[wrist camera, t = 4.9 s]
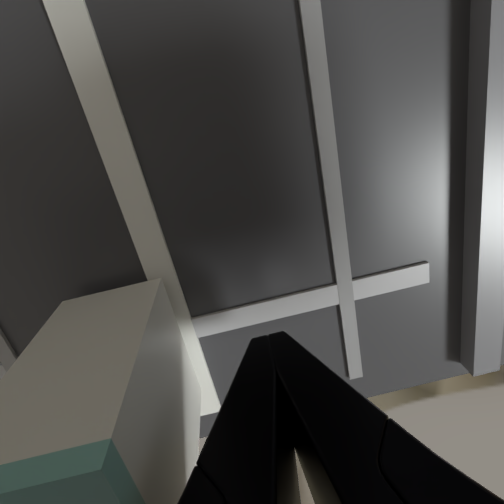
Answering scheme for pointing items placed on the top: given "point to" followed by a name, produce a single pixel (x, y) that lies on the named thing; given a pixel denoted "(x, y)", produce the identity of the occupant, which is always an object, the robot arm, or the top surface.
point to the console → (262, 177)
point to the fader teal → (101, 405)
